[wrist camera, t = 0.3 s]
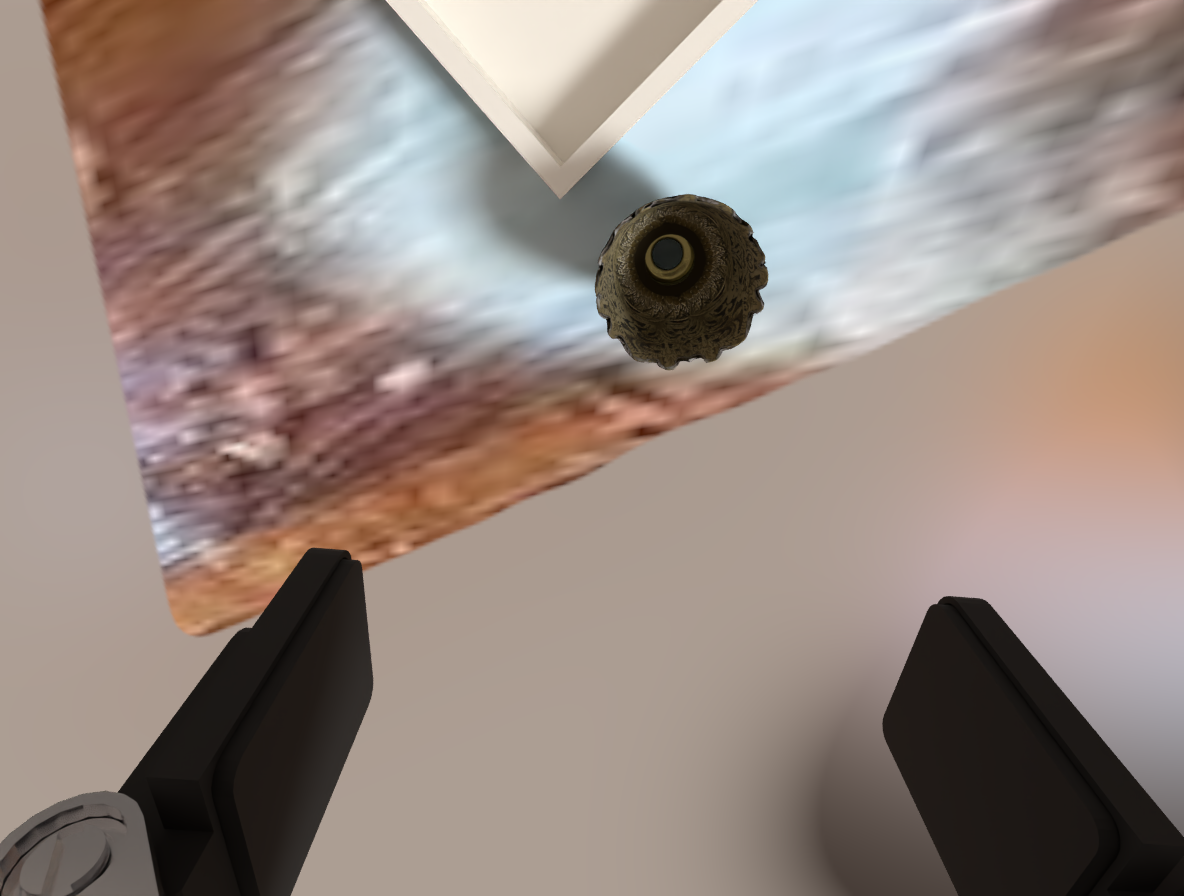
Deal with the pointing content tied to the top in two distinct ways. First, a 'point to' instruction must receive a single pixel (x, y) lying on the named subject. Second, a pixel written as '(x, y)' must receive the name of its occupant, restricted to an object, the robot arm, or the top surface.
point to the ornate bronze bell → (681, 281)
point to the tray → (567, 66)
